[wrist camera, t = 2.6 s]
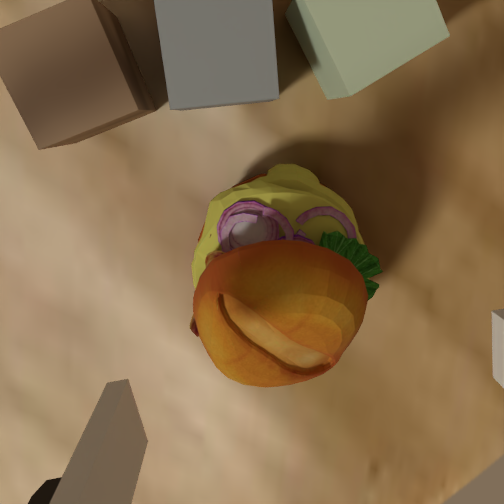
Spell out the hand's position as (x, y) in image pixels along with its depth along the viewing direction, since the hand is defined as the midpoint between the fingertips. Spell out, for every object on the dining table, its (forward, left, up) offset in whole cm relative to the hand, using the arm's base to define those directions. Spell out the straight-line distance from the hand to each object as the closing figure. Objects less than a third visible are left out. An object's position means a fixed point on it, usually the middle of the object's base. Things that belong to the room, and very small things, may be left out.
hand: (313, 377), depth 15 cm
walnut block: (-12, -8, -13) cm, 19 cm away
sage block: (-12, +6, -13) cm, 19 cm away
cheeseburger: (-1, 0, -13) cm, 13 cm away
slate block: (-12, -1, -13) cm, 18 cm away
